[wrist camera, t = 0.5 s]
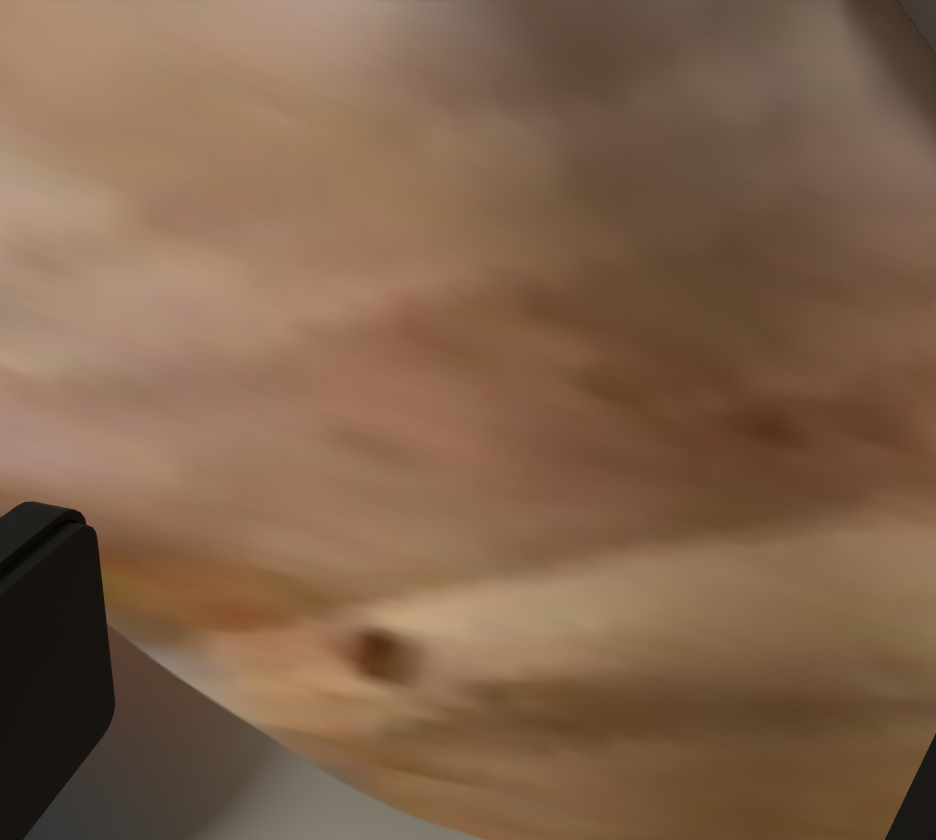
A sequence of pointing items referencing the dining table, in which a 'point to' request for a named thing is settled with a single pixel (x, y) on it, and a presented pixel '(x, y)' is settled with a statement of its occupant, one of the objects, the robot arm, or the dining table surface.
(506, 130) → the dining table surface
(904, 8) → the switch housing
